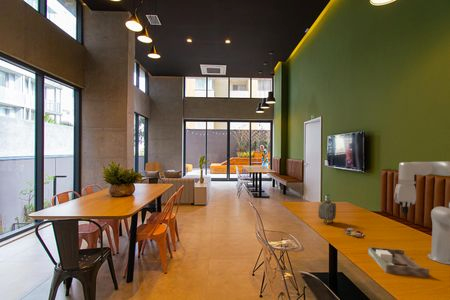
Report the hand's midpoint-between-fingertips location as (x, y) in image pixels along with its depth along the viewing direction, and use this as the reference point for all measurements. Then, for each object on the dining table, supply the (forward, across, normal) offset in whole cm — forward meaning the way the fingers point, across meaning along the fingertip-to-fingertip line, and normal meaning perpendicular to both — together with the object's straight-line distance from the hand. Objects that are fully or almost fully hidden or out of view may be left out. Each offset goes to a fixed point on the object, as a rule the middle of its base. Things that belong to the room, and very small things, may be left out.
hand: (404, 212), depth 148 cm
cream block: (+25, +15, +10) cm, 31 cm away
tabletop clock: (+27, +30, -60) cm, 72 cm away
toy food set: (+28, +16, -36) cm, 48 cm away
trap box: (+27, +9, +10) cm, 30 cm away
